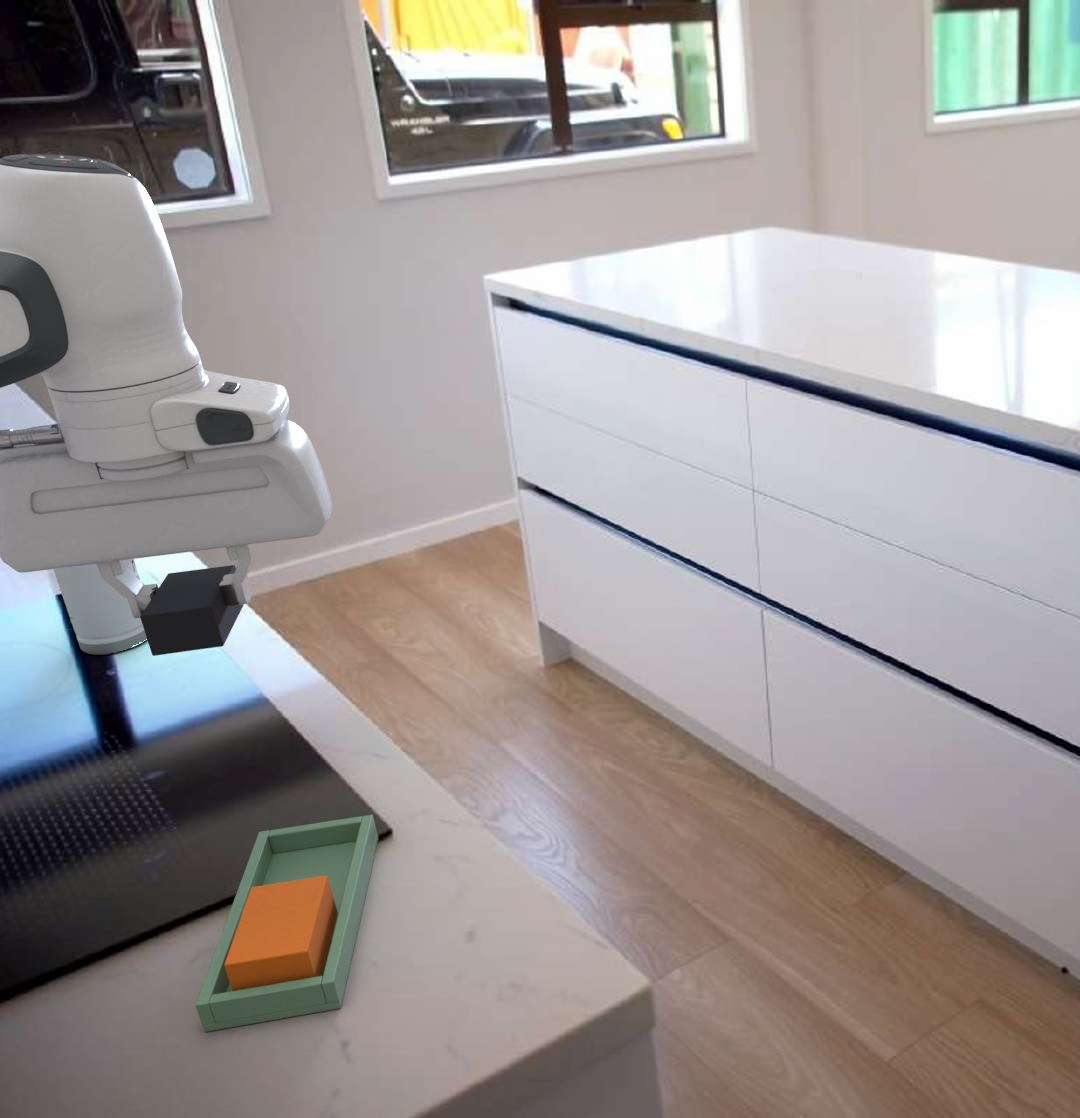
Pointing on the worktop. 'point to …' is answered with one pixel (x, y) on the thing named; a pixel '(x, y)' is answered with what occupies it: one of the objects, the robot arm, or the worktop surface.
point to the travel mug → (98, 610)
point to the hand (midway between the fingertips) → (195, 607)
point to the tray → (348, 866)
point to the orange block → (282, 934)
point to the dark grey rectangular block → (189, 612)
